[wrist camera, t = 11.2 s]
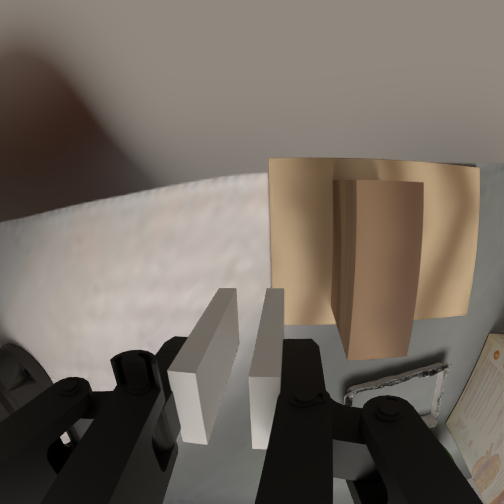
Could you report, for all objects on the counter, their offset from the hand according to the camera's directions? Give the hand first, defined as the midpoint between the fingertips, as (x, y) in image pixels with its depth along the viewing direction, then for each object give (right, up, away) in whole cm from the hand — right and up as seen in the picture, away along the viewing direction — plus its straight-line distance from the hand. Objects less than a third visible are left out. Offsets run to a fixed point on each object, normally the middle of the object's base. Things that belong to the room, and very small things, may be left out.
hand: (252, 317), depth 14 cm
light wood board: (+13, +4, +15) cm, 20 cm away
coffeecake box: (+31, -15, +17) cm, 39 cm away
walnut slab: (+10, +3, +14) cm, 18 cm away
